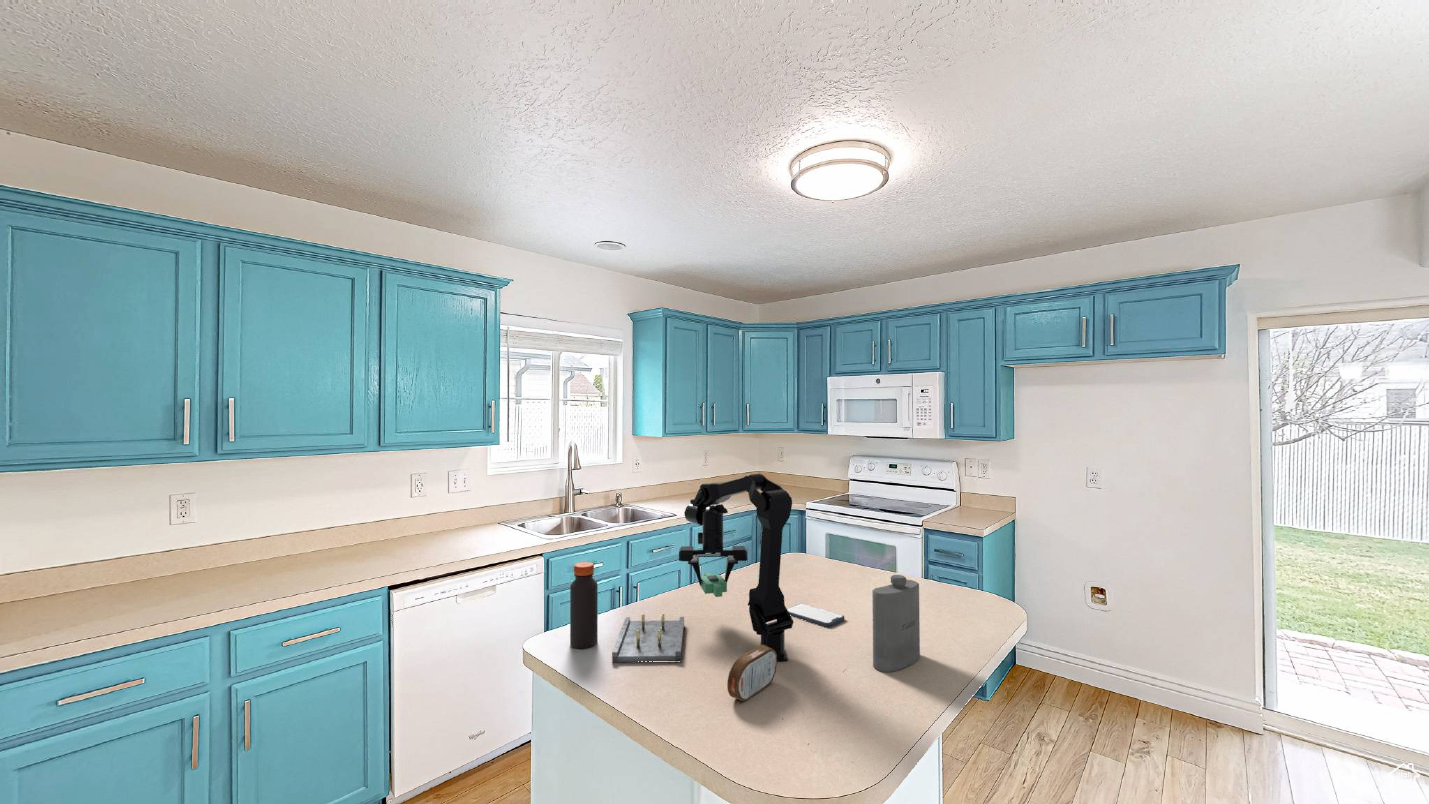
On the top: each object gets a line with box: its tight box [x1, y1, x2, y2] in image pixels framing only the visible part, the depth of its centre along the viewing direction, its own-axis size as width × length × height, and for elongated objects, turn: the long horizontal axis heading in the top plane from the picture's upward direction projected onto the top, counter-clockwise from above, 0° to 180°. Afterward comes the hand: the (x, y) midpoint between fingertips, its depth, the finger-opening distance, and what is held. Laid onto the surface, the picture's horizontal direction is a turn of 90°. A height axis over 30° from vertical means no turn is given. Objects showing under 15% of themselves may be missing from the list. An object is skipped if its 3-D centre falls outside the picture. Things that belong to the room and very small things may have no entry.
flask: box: [871, 574, 921, 673], centre depth 129 cm, size 15×6×20 cm, turn 129°
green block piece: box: [699, 571, 728, 598], centre depth 153 cm, size 14×6×3 cm, turn 13°
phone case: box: [787, 603, 846, 629], centre depth 158 cm, size 9×2×16 cm
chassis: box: [611, 613, 685, 664], centre depth 140 cm, size 22×16×5 cm
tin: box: [726, 644, 778, 702], centre depth 116 cm, size 15×3×8 cm, turn 141°
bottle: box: [569, 561, 599, 650], centre depth 140 cm, size 7×7×20 cm
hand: (713, 584), depth 153 cm, fingers closed on green block piece, 6 cm apart
